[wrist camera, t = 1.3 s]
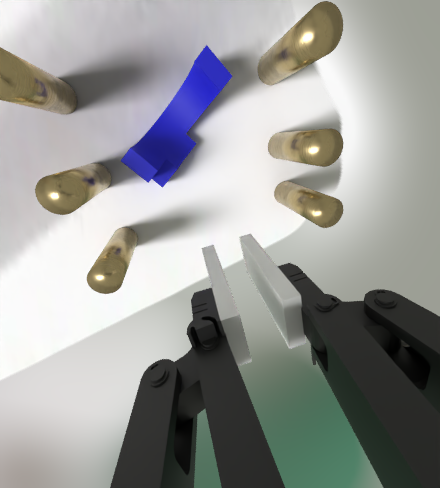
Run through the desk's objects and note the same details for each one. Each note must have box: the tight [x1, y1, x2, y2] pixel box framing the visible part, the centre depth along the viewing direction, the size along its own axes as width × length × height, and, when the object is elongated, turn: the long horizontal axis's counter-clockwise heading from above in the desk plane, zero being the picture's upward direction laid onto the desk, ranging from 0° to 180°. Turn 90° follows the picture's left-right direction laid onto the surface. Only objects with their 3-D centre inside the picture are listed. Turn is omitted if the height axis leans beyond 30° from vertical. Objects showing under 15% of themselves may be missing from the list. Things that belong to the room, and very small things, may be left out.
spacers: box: [0, 1, 343, 294], centre depth 23 cm, size 19×25×10 cm
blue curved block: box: [121, 45, 232, 187], centre depth 24 cm, size 12×4×6 cm, turn 138°
